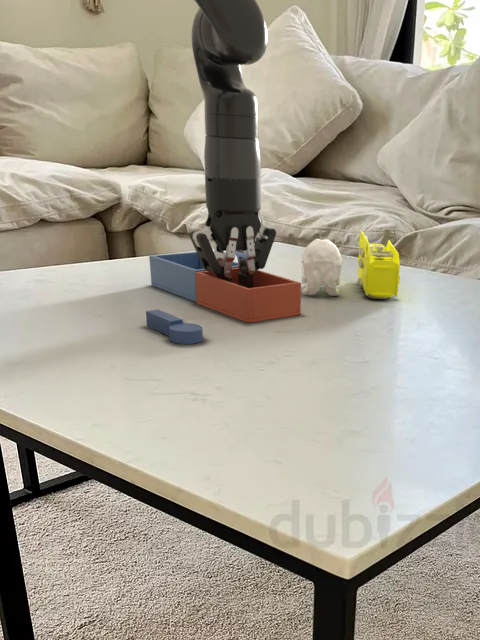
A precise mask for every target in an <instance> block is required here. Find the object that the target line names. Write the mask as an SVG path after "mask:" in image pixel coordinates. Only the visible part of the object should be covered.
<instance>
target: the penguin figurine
mask: <svg viewBox="0 0 480 640" xmlns="http://www.w3.org/2000/svg"><path fill="white" fill-rule="evenodd" d="M343 263H344V262H343V260H342V254H341V252H340V251H339V248H338V247H337V245H336V244H335V243H334V242H332V241H331V240H329V239H328V238H325V239H320V238H315V239H313V240H312V241H311V242H310V243H309V244H308V245H307V246H305V248H304V249H303V251H302V254H301V264H302V265H301V285H307V286H305V287H303V288H302V289H301V294H302V295H303V296H313V295H314V294H316V293H317V292H318V291H319V290H321V286H323V289H324V291H325V293H326V294H327V295H329V296H331V297H337V296H339V295H340V291H339V290H340V289H338V288H337V287H338V286H339V285H341V274H342V266H343Z"/></svg>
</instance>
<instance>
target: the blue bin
mask: <svg viewBox="0 0 480 640" xmlns="http://www.w3.org/2000/svg"><path fill="white" fill-rule="evenodd" d="M148 257H149V272H150V284H151V286H153V287H155V288H158V289H160V290H164V291H166V292H169V293H171V294H174V295H177V296H179V297H182V298H185V299H188V300H190V301H192V302H196V303H197V298H196V277H195V272H201V271H206V270H205V269H204V267H203V265H202V263H201V261H200V258H199V256H198V254H197V252H196V251H189V252H177V253H166V254H164V253H163V254H155V255H148ZM232 268H239V266H238V261H235V260H234V261H233V262H232Z"/></svg>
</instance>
